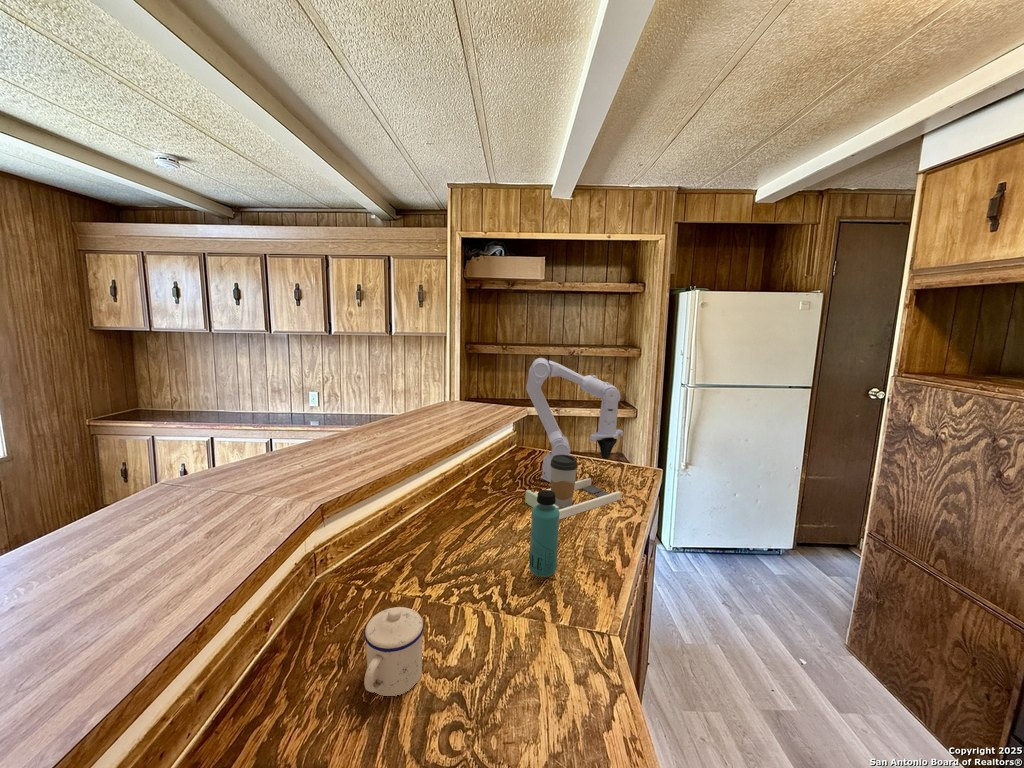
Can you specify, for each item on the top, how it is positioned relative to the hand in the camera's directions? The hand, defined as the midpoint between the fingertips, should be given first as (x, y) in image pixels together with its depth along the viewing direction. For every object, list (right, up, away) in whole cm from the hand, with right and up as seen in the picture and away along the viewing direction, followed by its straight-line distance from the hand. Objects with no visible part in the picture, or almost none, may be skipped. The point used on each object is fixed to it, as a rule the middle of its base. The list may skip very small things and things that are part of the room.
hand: (605, 458), depth 153 cm
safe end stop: (-24, -12, -21) cm, 34 cm away
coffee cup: (-17, -12, -17) cm, 27 cm away
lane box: (-13, -11, -13) cm, 22 cm away
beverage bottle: (-26, -18, -53) cm, 62 cm away
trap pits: (-4, -11, -7) cm, 13 cm away
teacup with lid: (-52, -22, -83) cm, 100 cm away
